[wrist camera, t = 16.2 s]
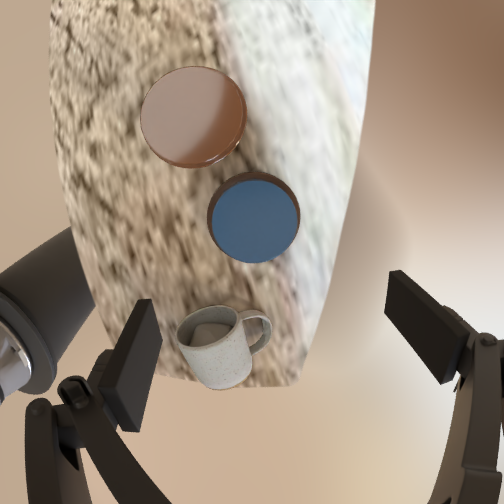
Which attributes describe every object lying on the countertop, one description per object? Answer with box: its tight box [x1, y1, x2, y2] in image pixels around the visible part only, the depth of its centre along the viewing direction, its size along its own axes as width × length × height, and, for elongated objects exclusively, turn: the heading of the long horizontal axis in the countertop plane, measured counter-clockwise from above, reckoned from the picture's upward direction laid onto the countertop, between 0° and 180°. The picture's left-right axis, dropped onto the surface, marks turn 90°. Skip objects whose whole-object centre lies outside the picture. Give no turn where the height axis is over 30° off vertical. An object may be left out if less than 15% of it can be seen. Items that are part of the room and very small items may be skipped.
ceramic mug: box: [175, 305, 272, 390], centre depth 34 cm, size 11×8×8 cm
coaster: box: [207, 172, 300, 257], centre depth 32 cm, size 10×10×1 cm
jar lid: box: [211, 178, 297, 263], centre depth 31 cm, size 9×9×2 cm
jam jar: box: [140, 66, 247, 168], centre depth 24 cm, size 8×8×10 cm
